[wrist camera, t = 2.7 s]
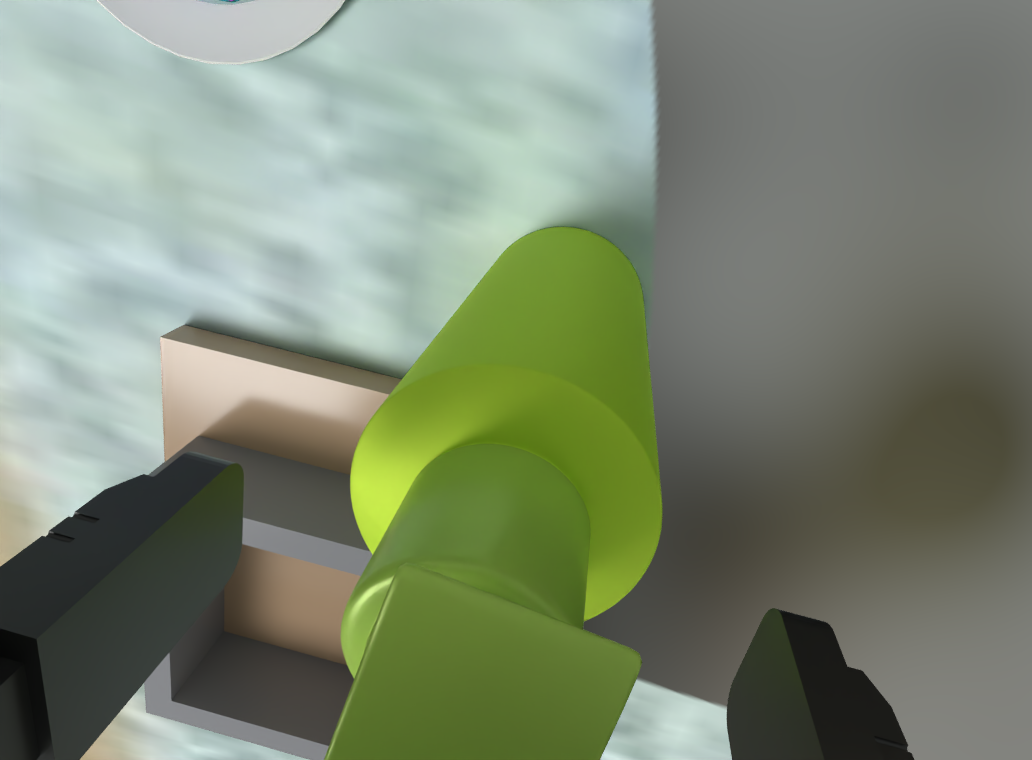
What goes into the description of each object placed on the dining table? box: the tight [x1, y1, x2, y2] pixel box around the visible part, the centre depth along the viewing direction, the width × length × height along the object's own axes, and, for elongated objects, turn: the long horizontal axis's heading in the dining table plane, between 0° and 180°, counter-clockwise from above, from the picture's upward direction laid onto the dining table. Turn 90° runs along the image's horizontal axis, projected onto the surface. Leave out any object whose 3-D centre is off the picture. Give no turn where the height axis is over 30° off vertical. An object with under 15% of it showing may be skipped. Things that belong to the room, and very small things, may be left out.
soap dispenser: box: [324, 227, 662, 760], centre depth 15 cm, size 6×7×20 cm
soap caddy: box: [144, 325, 402, 760], centre depth 28 cm, size 20×14×6 cm
